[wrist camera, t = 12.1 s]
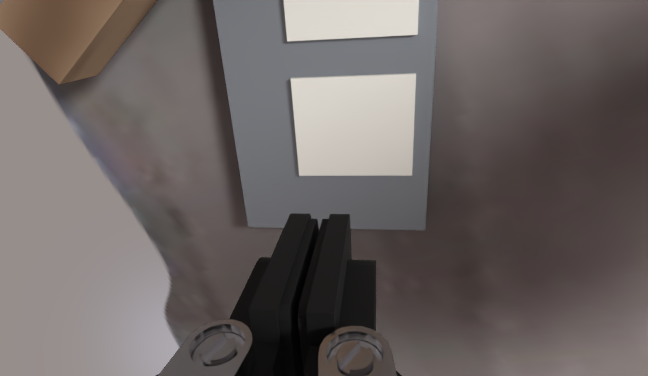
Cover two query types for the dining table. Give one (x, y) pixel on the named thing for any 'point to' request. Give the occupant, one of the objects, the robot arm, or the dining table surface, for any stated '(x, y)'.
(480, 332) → the dining table surface
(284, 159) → the label board
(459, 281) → the dining table surface
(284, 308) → the robot arm
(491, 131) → the dining table surface
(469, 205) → the dining table surface
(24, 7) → the swing bar
